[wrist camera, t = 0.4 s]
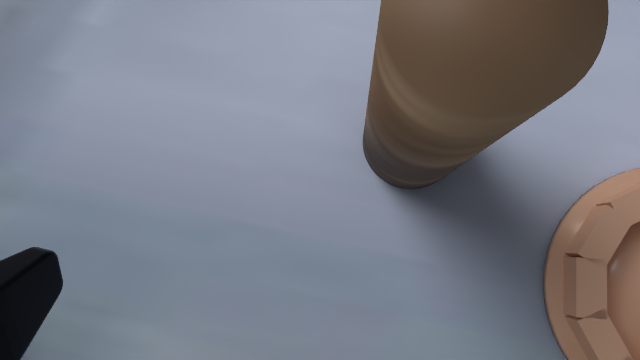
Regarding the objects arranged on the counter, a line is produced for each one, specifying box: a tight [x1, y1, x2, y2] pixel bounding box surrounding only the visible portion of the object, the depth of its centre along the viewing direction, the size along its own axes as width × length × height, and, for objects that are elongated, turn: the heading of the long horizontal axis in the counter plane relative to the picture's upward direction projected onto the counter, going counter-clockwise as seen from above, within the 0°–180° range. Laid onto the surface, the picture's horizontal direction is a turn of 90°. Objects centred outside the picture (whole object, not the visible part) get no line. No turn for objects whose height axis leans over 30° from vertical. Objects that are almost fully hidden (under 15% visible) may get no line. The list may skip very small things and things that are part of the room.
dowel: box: [363, 0, 608, 189], centre depth 16 cm, size 4×4×13 cm
